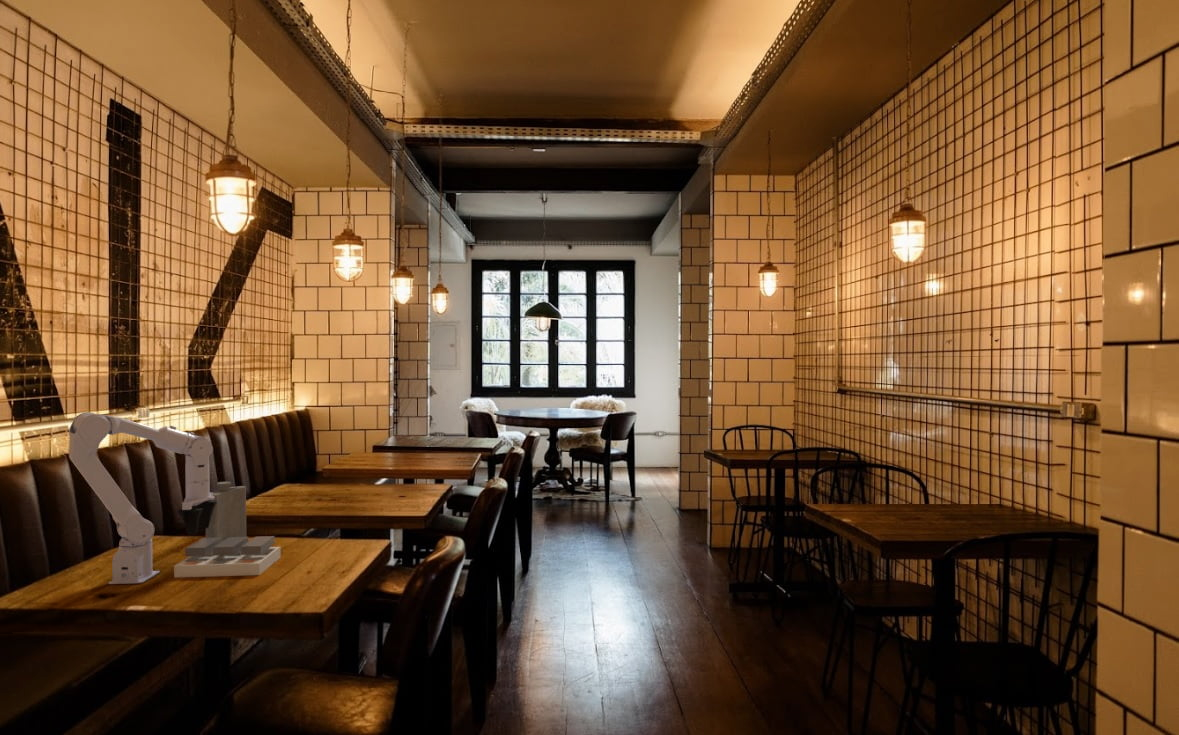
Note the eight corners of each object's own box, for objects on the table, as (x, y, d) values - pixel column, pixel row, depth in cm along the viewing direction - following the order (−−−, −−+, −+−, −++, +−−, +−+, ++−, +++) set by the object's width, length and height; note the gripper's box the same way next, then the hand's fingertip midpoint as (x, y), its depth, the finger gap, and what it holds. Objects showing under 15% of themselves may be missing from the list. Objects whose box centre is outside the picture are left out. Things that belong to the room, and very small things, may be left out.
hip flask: (213, 558, 209) (212, 486, 209) (200, 557, 210) (199, 486, 210) (248, 544, 225) (248, 477, 225) (236, 543, 226) (235, 477, 225)
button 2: (260, 554, 196) (260, 546, 196) (240, 554, 196) (240, 546, 196) (274, 544, 207) (274, 536, 207) (255, 544, 207) (255, 536, 207)
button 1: (205, 555, 195) (205, 547, 195) (185, 556, 195) (185, 548, 195) (222, 545, 206) (221, 537, 206) (203, 545, 206) (203, 537, 206)
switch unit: (259, 574, 193) (259, 562, 193) (174, 577, 191) (174, 564, 191) (280, 557, 210) (280, 546, 210) (202, 559, 208) (202, 548, 208)
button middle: (233, 555, 196) (232, 546, 196) (213, 555, 195) (213, 547, 195) (248, 544, 207) (248, 536, 207) (229, 545, 206) (229, 537, 206)
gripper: (202, 485, 194) (202, 537, 194) (223, 476, 208) (224, 524, 208) (173, 485, 193) (174, 538, 193) (197, 476, 207) (197, 525, 208)
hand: (198, 531), depth 201 cm, fingers open, 7 cm apart
